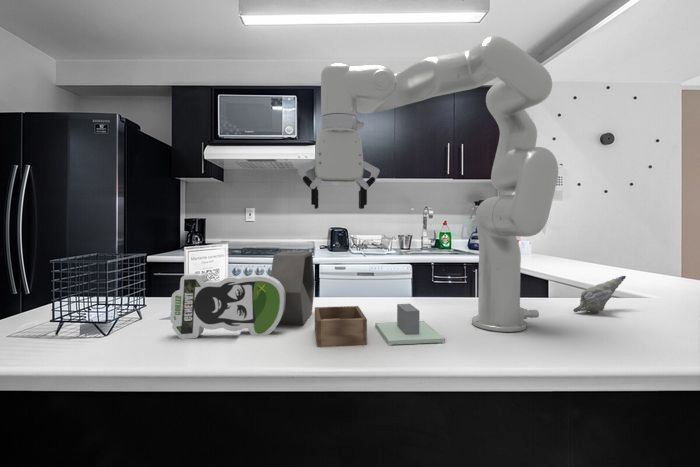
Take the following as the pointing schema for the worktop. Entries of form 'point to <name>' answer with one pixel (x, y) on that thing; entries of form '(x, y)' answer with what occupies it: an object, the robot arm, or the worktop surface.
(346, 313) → the wooden box
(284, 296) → the cutout
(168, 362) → the worktop surface
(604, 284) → the seashell
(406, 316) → the lid
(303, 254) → the planter
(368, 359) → the worktop surface
